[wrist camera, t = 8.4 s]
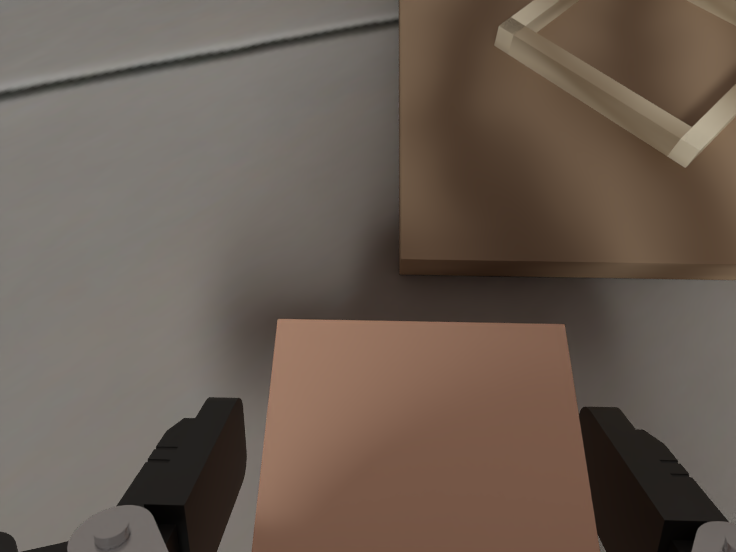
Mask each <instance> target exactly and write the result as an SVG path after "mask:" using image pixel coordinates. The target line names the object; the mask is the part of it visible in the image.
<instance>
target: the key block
mask: <svg viewBox="0 0 736 552" xmlns="http://www.w3.org/2000/svg"><path fill="white" fill-rule="evenodd" d="M252 552H600V548H599V542H598V535H597V529H596V523H595V516H594V510H593V503H592V497H591V490H590V484H589V478H588V471H587V465H586V458H585V452H584V445H583V439H582V433H581V426H580V420H579V413H578V407H577V401H576V394H575V388H574V381H573V375H572V368H571V362H570V356H569V349H568V343H567V336H566V330H565V324H529V323H475V322H421V321H366V320H312V319H278V321H277V330H276V339H275V348H274V357H273V366H272V375H271V384H270V393H269V401H268V410H267V419H266V428H265V437H264V446H263V455H262V464H261V473H260V482H259V491H258V500H257V509H256V518H255V527H254V536H253V545H252Z"/></svg>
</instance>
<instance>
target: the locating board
mask: <svg viewBox="0 0 736 552" xmlns="http://www.w3.org/2000/svg"><path fill="white" fill-rule="evenodd" d="M399 275H459V276H519V277H579V278H640V279H700V280H736V0H399Z"/></svg>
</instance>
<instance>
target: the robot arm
mask: <svg viewBox="0 0 736 552" xmlns="http://www.w3.org/2000/svg"><path fill="white" fill-rule="evenodd" d="M579 420H580V426H581V433H582V439H583V445H584V452H585V458H586V465H587V471H588V478H589V484H590V490H591V497H592V503H593V510H594V516H595V523H596V529H597V534H598V536H599V538H600V540H601V542H602V544H603V546H604V548H605V550H606V552H736V524H734V523H730V522H728V520H727V519H726V518H725V517H724V516H723V514H722V513H721V512H720V511H719V510H718V508H717V507H716V506H715V505H714V504H713V502H712V501H711V500H710V499H709V498H708V496H707V495H706V494H705V493H704V491H703V490H702V489H701V488H700V487H699V485H698V484H697V483H696V482H695V481H694V479H693V478H692V477H689V473H688V472H687V471H686V470H685V469H684V467H683V466H682V465H681V464H678V460H677V459H676V458H675V457H674V455H673V454H672V453H671V452H670V451H669V449H668V448H667V447H666V446H665V445H664V444H663V443H662V442H660V441H659V440H657V439H656V438H655V437H653V436H652V435H650V434H649V433H647V432H646V431H644V430H636V429H635V428H634V427H633V425H632V424H631V423H630V422H629V420H628V419H627V418H626V416H625V415H624V414H623V413H622V411H621V410H620V409H619V408H616V407H583V408H582V409H581V411H580V414H579ZM246 460H247V453H246V439H245V426H244V413H243V404H242V400H241V399H240V398H214V397H209V398H208V399H207V400H206V401H205V403H204V405H203V406H202V408H201V410H200V411H199V413H198V415H197V416H196V418H184V419H182V420H181V421H180V422H178V423H177V424H175V425H174V426H173V427H171V428H170V429H169V430H167V431H166V433H165V434H164V436H163V437H162V439H161V440H160V442H159V443H158V445H157V446H156V449H154V451H153V452H152V454H151V455H150V457H149V458H148V462H146V463H145V464H144V466H143V467H142V469H141V470H140V472H139V473H138V475H137V476H136V478H135V479H134V481H133V482H132V484H131V485H130V487H129V488H128V490H127V491H126V493H125V494H124V496H123V497H122V499H121V500H120V502H119V503H118V505H117V506H116V507H112V508H109V509H106V510H103V511H101V512H99V513H97V514H95V515H93V516H91V517H90V518H88V519H87V520H86V521H84V522H83V523H82V524H81V525H80V526H79V527H78V528H77V529H76V530H75V531H74V532H73V534H72V535H71V537H70V539H69V541H67V542H63V543H59V544H55V545H50V546H46V547H41V548H36V549H32V550H27V551H23V552H217V550H218V547H219V544H220V542H221V539H222V536H223V533H224V531H225V528H226V525H227V523H228V520H229V517H230V515H231V512H232V509H233V507H234V504H235V501H236V499H237V496H238V493H239V491H240V488H241V485H242V483H243V480H244V476H245V470H246ZM0 552H18V549H17V545H16V542H15V540H14V538H13V537H12V536H11V535H9V534H7V533H4V532H0Z"/></svg>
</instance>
